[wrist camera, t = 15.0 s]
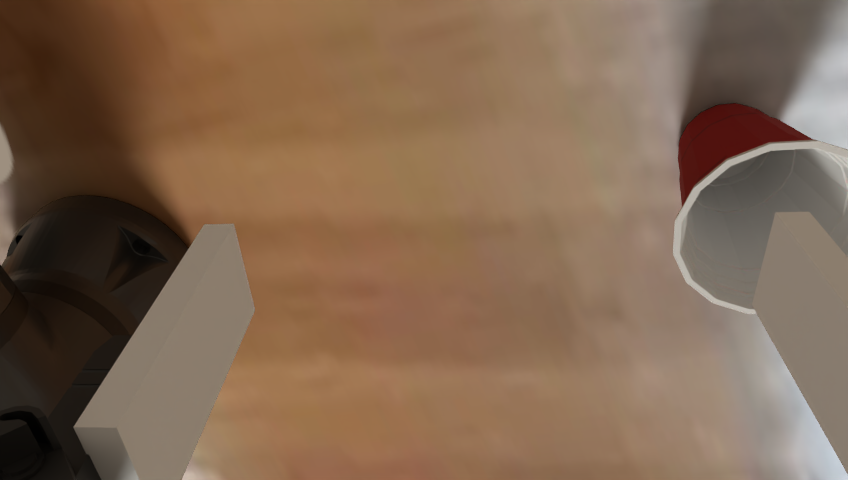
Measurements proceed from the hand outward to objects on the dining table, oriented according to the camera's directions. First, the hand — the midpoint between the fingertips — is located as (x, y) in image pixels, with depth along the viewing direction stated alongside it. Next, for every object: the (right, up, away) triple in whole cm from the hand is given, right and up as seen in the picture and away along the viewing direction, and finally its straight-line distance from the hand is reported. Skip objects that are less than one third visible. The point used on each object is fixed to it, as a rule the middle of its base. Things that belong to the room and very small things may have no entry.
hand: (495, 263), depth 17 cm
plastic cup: (+18, +7, +29) cm, 35 cm away
